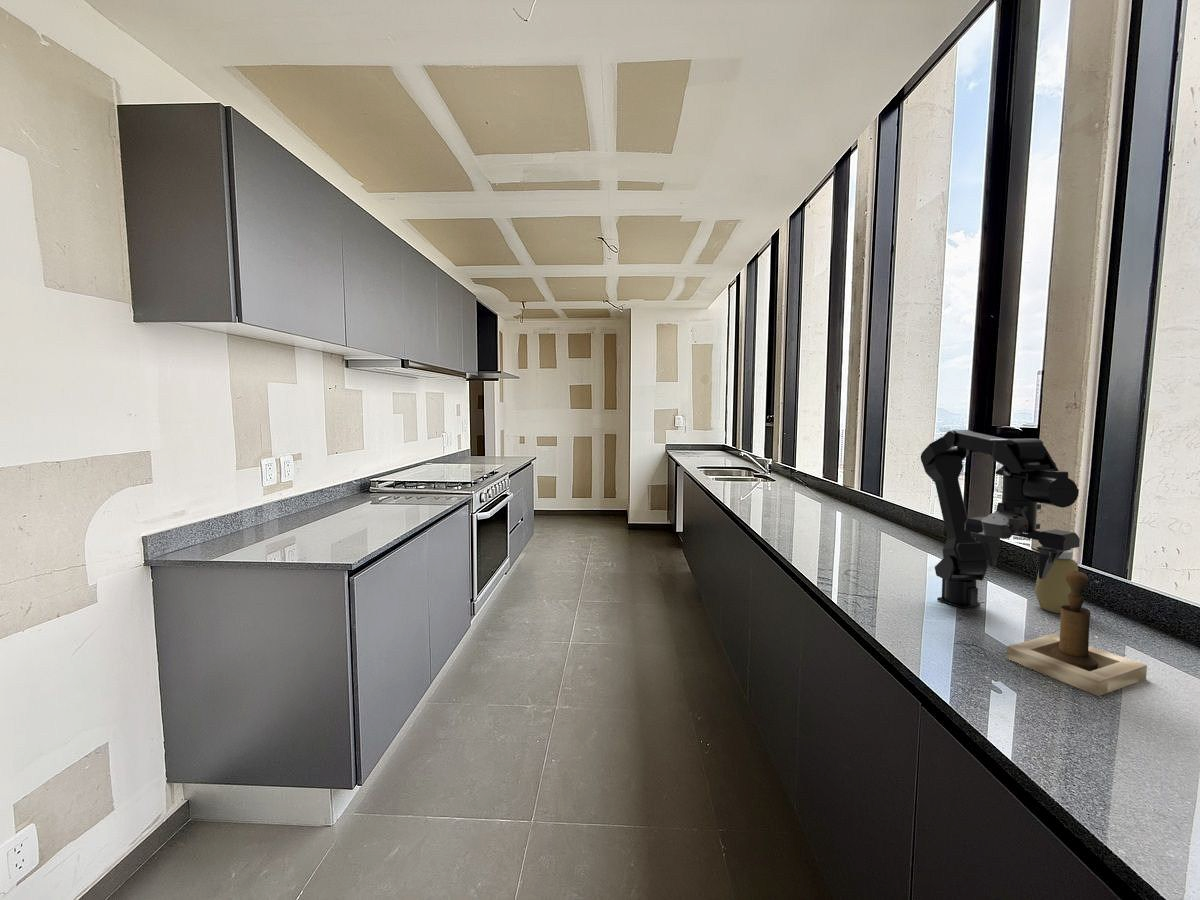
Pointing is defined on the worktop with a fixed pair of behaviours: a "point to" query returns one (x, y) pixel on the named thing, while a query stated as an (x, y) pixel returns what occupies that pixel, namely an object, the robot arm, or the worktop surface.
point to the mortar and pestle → (1075, 627)
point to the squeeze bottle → (1056, 583)
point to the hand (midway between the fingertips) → (1016, 572)
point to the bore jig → (1098, 682)
